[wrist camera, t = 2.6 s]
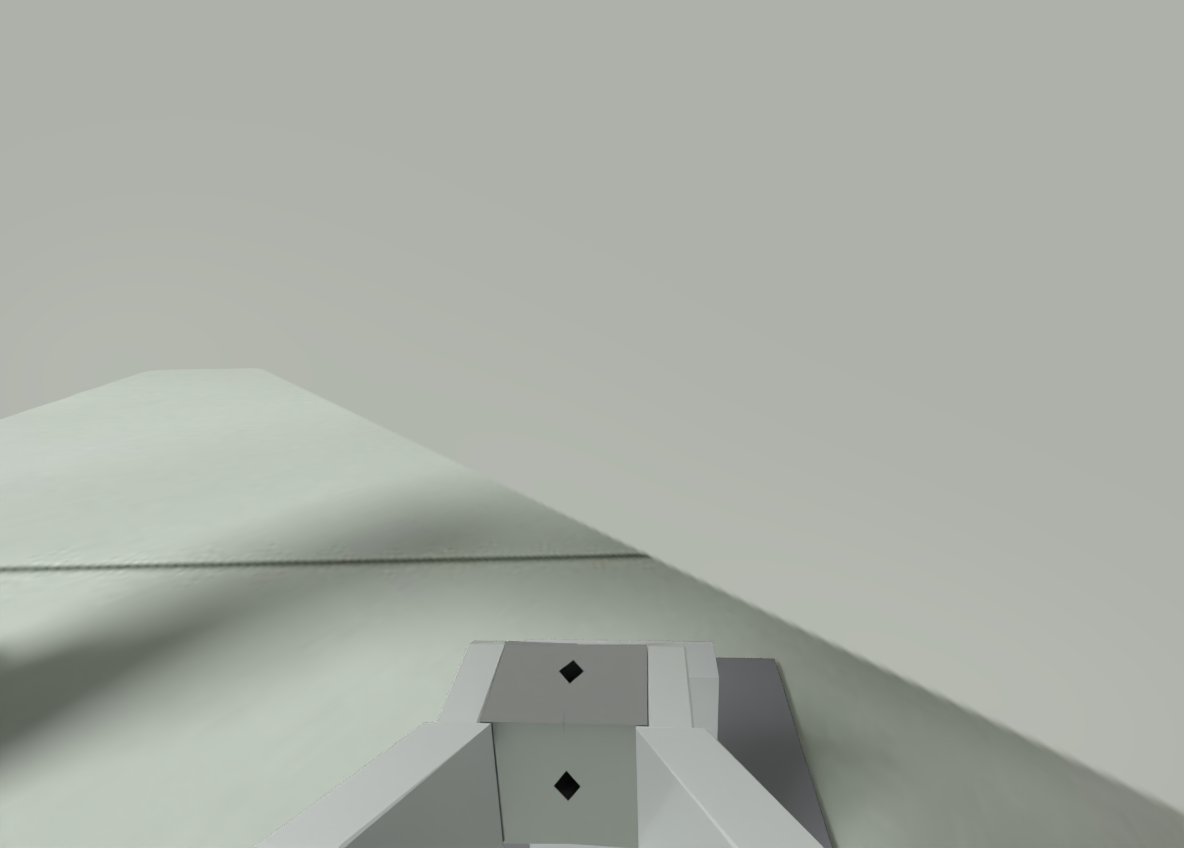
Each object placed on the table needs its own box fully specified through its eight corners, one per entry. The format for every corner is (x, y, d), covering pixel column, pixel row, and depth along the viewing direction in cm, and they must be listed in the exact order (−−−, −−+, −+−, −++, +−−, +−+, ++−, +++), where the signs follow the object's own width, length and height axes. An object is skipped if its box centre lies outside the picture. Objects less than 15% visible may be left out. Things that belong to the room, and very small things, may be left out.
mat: (909, 1119, 21) (911, 1107, 20) (360, 1081, 22) (357, 1070, 22) (773, 666, 42) (774, 658, 41) (497, 661, 43) (496, 653, 43)
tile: (711, 932, 26) (718, 678, 22) (535, 924, 26) (515, 674, 23) (706, 879, 28) (712, 639, 24) (543, 872, 28) (525, 636, 25)
